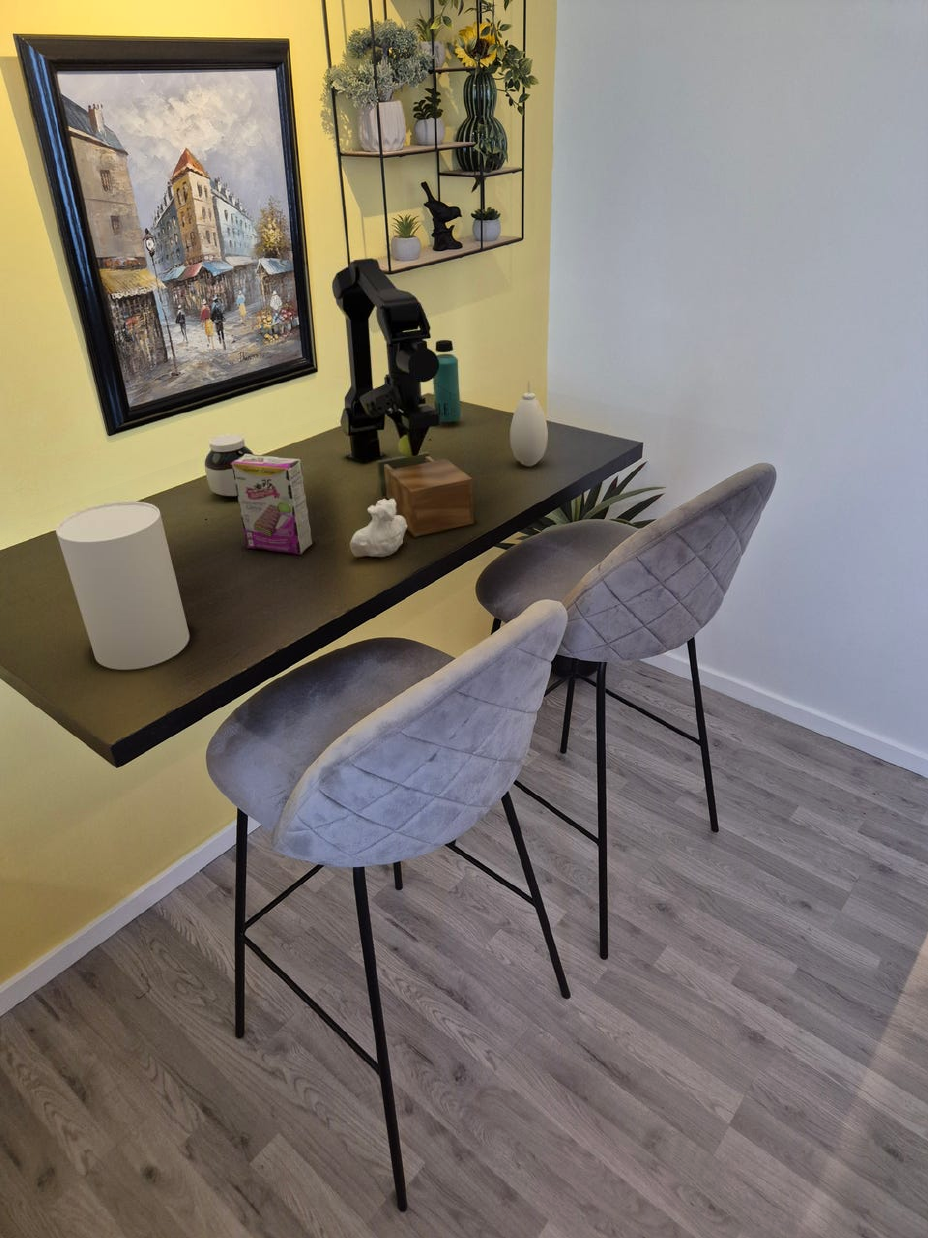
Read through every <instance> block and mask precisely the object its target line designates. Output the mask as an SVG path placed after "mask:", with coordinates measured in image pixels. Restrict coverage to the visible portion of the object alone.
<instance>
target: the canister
mask: <svg viewBox="0 0 928 1238" xmlns="http://www.w3.org/2000/svg"><path fill="white" fill-rule="evenodd" d="M55 533H56V537H57V540H58V543H59V545H60V549H61V552H62V555H63V559H64V562H65V566H66V569H67V572H68V575H69V579H70V582H71V584H72V585H71V586H72V588H73V591H74V594H75V597H76V601H77V604H78V608H79V610H80V614H81V617H82V620H83V624H84V627H85V630H86V634H87V636H88V640H89V643H90V646H91V649H92V652H93V655H94V658H95V661H96V662H97V663H98V664H99V665H101V666H103V667H105V668H107V669H112V670H120V671H121V670H122V671H126V670H130V671H131V670H137V669H144V668H148V667H152V666H156V665H157V664H158V665H159V664H161V663H163V662H165V661H167V660H170V659H171V658H173V657H174V656H176V655H178V654H179V653H180V652H181V651H183V649H185V647H186V646H187V645H188V643H189V640H190V632H189V628H188V624H187V619H186V615H185V611H184V607H183V602H182V599H181V594H180V591H179V587H178V582H177V577H176V573H175V570H174V565H173V561H172V557H171V553H170V549H169V544H168V540H167V536H166V531H165V527H164V524H163V520H162V515H161V510H160V509H159V508H158V507H157V506H155V505H154V504H152V503H150V502H149V503H148V502H145V501H144V502H143V501H134V500H133V501H132V500H128V501H127V500H124V501H114V502H113V501H112V502H107V503H106V502H105V503H102V504H97V505H93V506H89V507H87V508H84V509H81V510H78V511H76V512H73V513H71V514H70V515H68V516H66V517H65V518H63V519H62V520H61V521H60V522H59V523H58V525H57V526H56V528H55Z"/></svg>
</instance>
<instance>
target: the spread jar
mask: <svg viewBox="0 0 928 1238" xmlns="http://www.w3.org/2000/svg"><path fill="white" fill-rule="evenodd" d="M244 437H245V436H243V435H241V434H234V433H228V434H222V435H217V436H214V437H212V438H211V439H209V440H208V444H209V449H210V450H209V451H208V453H207V454H206V456H205V458H204V471H205V476H206V481H207V484H208V488H209V489H210V492H211V493H213V494H214V495H215V496H216V497H217V498H220V499H222V500H224V501H238V496H237V491H236V485H235V480H234V474H233V469H232V464H231V463H232V462H233V461H235V460H237V459H238V458H240V457H241V456H243V455H244V454H252V455H255V454H254V452H253V451H252V450H251V449H250V448H249V447H248V446H246V443H245V438H244Z"/></svg>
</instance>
